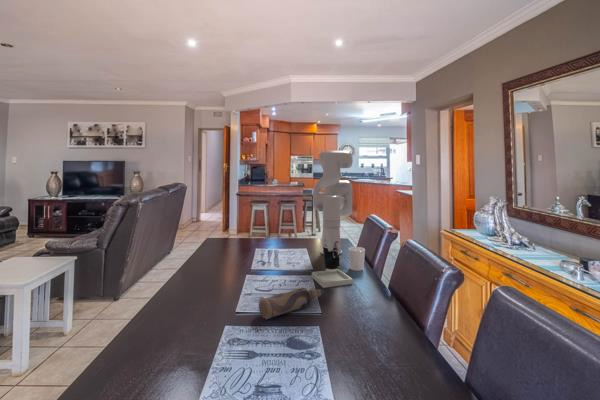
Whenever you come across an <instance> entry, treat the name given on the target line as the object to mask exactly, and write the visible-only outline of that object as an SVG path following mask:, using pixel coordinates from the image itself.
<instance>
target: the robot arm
mask: <svg viewBox="0 0 600 400" xmlns="http://www.w3.org/2000/svg"><path fill="white" fill-rule="evenodd" d="M318 156H319V158H318V159H319V163H320V166H321V169H322V177H320V178H319V179H318V180H317V181H316V183H315V184H314V187H313V191H312V207H313V208H314V209H315V210H316V211H321V212H322V235H321V247H322V249H321V250H320V253H321V254H322V255H324V252H323V246H322V245H324V246H325V247H328V251H329V252H331V251H332V255H333V257H332V266H333V267H336V266H338V267H339V266H340V257H341V255H342V254H343V250H342V249H341V248H342V247H341V230H340V229H341V217H349V216H351V215H352V214H353V185H352V182H351V181H349V180H341V169H350V168H352V166H353V155H352V153H351V151H350V150H324V151H320V153H319V155H318ZM322 190H324V192H323V193H320V192H321V191H322ZM334 247H336V249H337V250H334ZM334 252H336V253H335V254H334Z"/></svg>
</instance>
